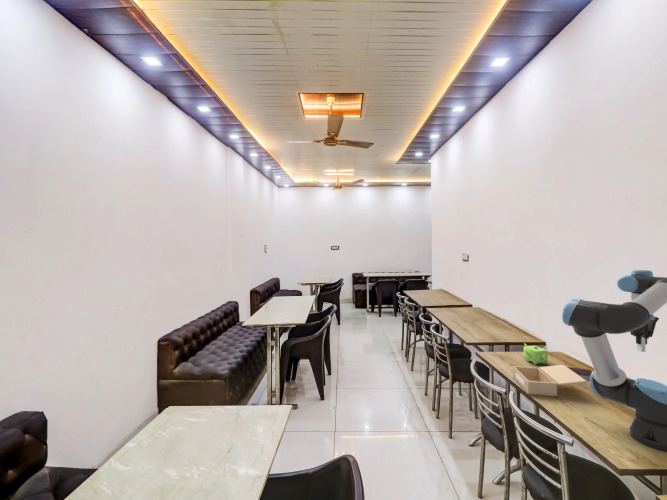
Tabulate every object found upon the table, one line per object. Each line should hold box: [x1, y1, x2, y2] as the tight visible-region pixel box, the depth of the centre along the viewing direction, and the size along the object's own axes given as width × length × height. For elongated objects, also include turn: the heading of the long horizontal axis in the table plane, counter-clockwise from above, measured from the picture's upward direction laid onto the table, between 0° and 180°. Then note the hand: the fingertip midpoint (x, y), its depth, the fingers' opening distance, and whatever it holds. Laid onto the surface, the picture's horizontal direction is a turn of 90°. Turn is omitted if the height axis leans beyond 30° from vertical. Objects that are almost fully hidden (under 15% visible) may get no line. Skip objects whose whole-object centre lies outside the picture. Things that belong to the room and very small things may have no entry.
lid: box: [538, 364, 588, 386], centre depth 179 cm, size 23×13×1 cm, turn 170°
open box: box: [512, 365, 558, 397], centre depth 181 cm, size 22×14×7 cm, turn 170°
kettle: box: [523, 343, 549, 365], centre depth 218 cm, size 15×14×11 cm
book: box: [552, 365, 593, 381], centre depth 197 cm, size 12×19×3 cm, turn 65°
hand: (641, 350), depth 153 cm, fingers closed
